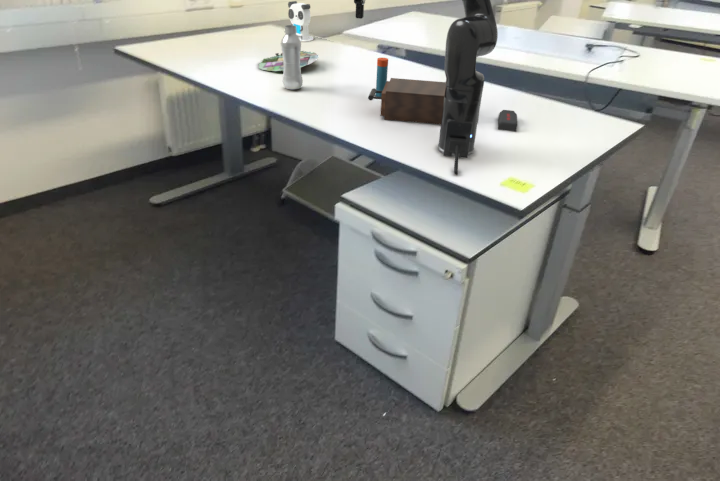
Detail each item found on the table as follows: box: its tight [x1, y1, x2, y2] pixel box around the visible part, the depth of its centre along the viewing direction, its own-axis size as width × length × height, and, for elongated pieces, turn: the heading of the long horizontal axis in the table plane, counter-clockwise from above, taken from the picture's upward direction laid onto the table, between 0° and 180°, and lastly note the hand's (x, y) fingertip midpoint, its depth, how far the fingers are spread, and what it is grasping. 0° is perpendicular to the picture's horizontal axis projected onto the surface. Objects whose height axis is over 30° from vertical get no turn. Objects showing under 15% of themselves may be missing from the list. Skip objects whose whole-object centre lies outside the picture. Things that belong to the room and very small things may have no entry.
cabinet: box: [383, 77, 446, 126], centre depth 163 cm, size 19×14×9 cm
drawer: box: [367, 80, 390, 117], centre depth 164 cm, size 22×12×7 cm, turn 81°
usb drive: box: [497, 109, 518, 132], centre depth 161 cm, size 5×12×3 cm, turn 167°
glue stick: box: [375, 57, 389, 97], centre depth 176 cm, size 4×4×12 cm
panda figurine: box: [287, 0, 314, 43], centre depth 240 cm, size 12×11×15 cm
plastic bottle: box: [280, 24, 304, 90], centre depth 178 cm, size 6×7×20 cm
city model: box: [258, 50, 319, 72], centre depth 205 cm, size 25×23×6 cm
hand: (359, 17), depth 162 cm, fingers closed
